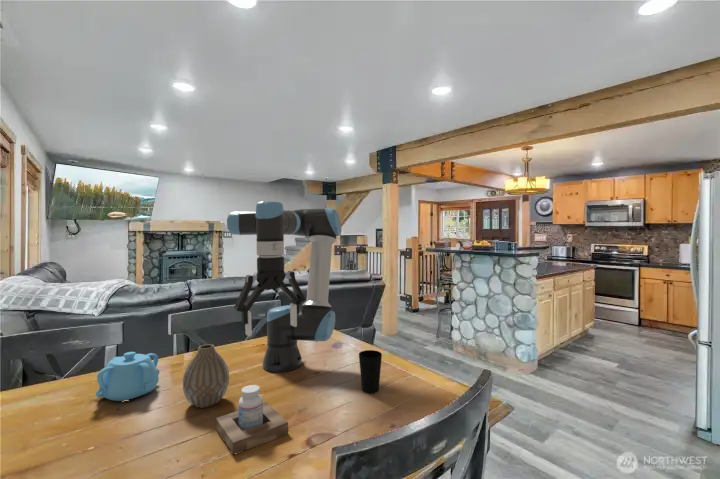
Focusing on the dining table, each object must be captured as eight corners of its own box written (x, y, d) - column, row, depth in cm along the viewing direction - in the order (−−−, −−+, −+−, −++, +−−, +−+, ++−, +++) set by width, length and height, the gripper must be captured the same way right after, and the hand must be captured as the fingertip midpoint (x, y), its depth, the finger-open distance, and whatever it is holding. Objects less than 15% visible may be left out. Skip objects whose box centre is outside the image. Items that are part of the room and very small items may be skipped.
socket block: (215, 429, 90) (215, 417, 90) (266, 412, 99) (266, 401, 99) (233, 455, 79) (233, 442, 79) (288, 433, 88) (288, 422, 88)
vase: (238, 396, 109) (238, 342, 109) (207, 417, 97) (207, 355, 96) (205, 390, 113) (205, 338, 113) (172, 409, 101) (172, 350, 101)
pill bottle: (241, 425, 92) (241, 383, 92) (264, 424, 93) (264, 383, 93) (235, 438, 86) (235, 394, 86) (260, 437, 87) (260, 393, 87)
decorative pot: (165, 381, 121) (165, 343, 121) (148, 403, 105) (148, 359, 105) (113, 386, 117) (113, 347, 117) (87, 409, 101) (87, 363, 101)
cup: (380, 396, 109) (380, 358, 109) (356, 394, 110) (356, 357, 110) (383, 385, 116) (383, 350, 116) (361, 384, 118) (361, 349, 118)
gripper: (229, 260, 86) (231, 343, 87) (315, 254, 101) (316, 325, 102) (221, 258, 92) (223, 335, 93) (303, 253, 107) (304, 319, 108)
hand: (272, 330), depth 97 cm, fingers open, 13 cm apart
